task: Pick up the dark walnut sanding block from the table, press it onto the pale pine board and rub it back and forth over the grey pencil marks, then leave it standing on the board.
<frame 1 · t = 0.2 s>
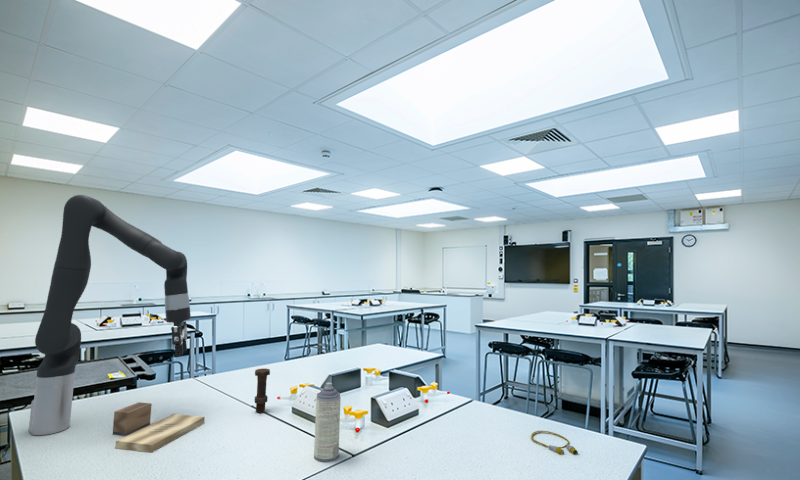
hand: (181, 353, 135), 22 cm above the table, tool pointing down, fingers open, 8 cm apart
pine board: (163, 434, 121), on the table
sanding block: (131, 429, 124), on the table
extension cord: (552, 445, 120), on the table
aerosol can: (326, 456, 109), on the table
bolt: (260, 412, 142), on the table
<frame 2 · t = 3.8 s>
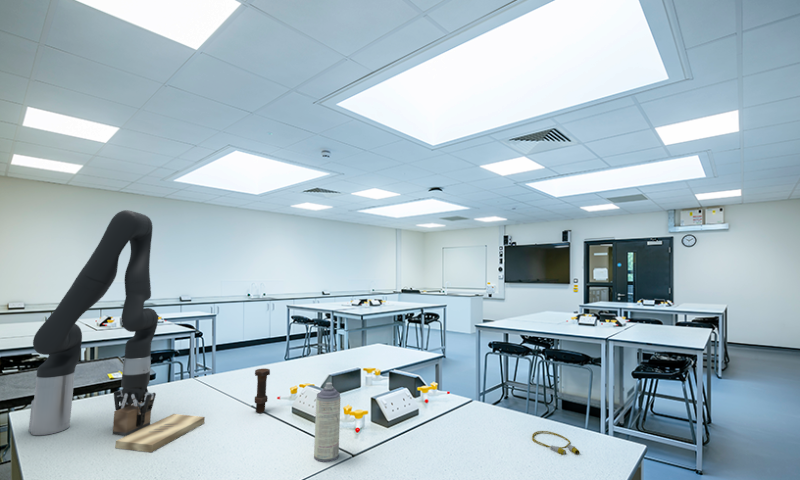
hand: (132, 424, 124), 1 cm above the table, tool pointing down, fingers closed on sanding block, 5 cm apart
sanding block: (131, 429, 124), on the table, touching gripper
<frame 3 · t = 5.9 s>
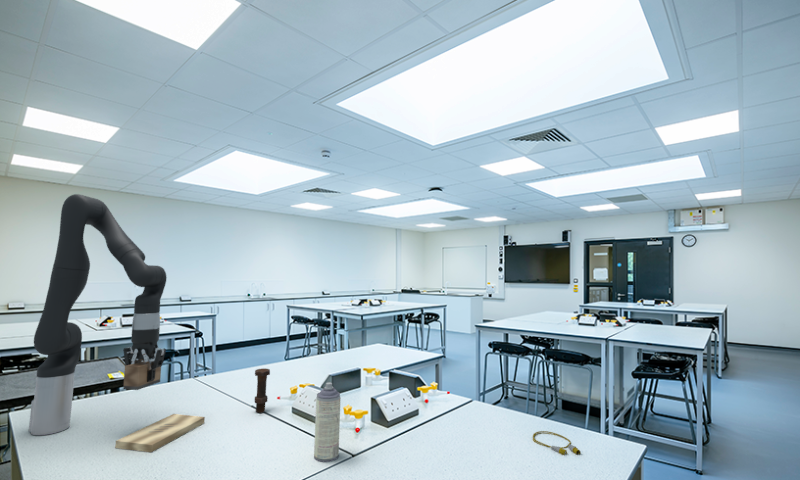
hand: (142, 380, 123), 16 cm above the table, tool pointing down, fingers closed on sanding block, 5 cm apart
sanding block: (142, 385, 123), point 14 cm above the table, touching gripper
everything else where it was.
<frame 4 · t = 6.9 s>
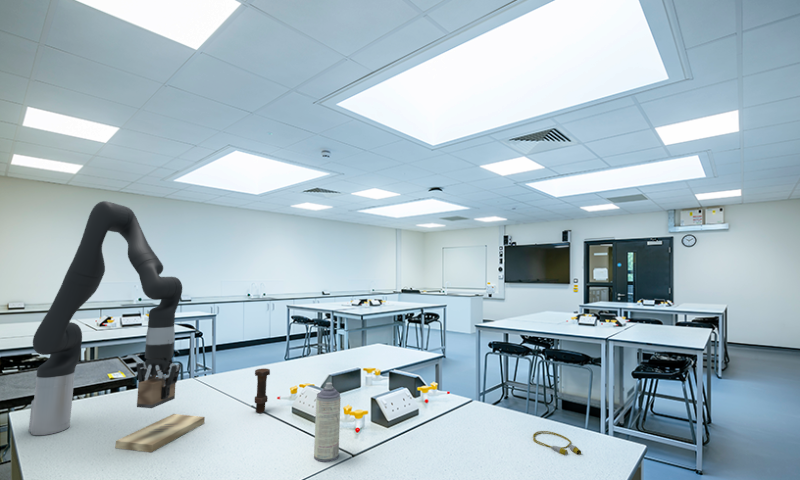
hand: (156, 397, 118), 12 cm above the table, tool pointing down, fingers closed on sanding block, 5 cm apart
sanding block: (156, 402, 118), point 11 cm above the table, touching gripper
everything else where it was.
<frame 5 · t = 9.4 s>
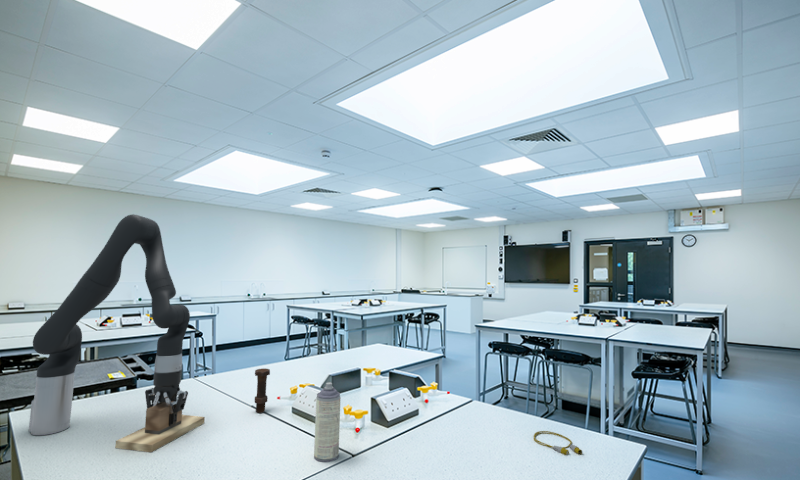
hand: (164, 424, 121), 3 cm above the table, tool pointing down, fingers closed on sanding block, 5 cm apart
sanding block: (163, 427, 121), point 2 cm above the table, touching gripper
everything else where it was.
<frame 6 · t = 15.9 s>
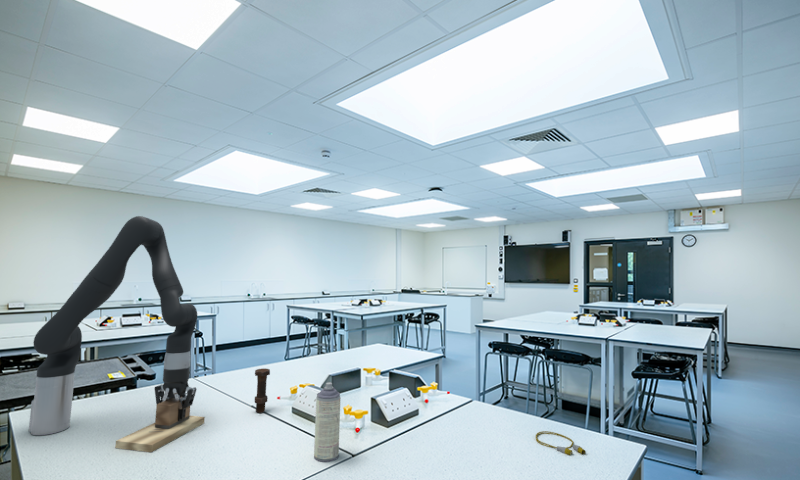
hand: (173, 419, 125), 3 cm above the table, tool pointing down, fingers closed on sanding block, 5 cm apart
sanding block: (172, 422, 125), point 2 cm above the table, touching gripper
when the fingers open (4 cm above the table, at t = 16.9 s): sanding block stays where it is, resting on pine board.
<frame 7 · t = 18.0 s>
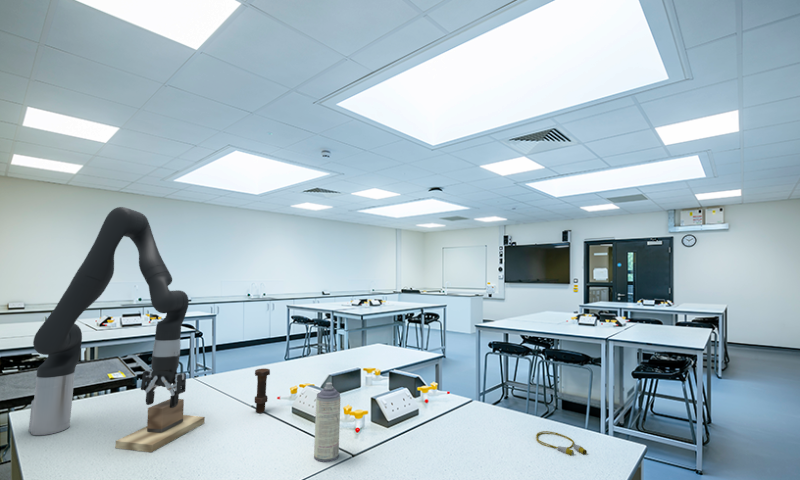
hand: (161, 405, 122), 8 cm above the table, tool pointing down, fingers open, 8 cm apart
sanding block: (165, 426, 122), point 2 cm above the table, touching gripper, pine board
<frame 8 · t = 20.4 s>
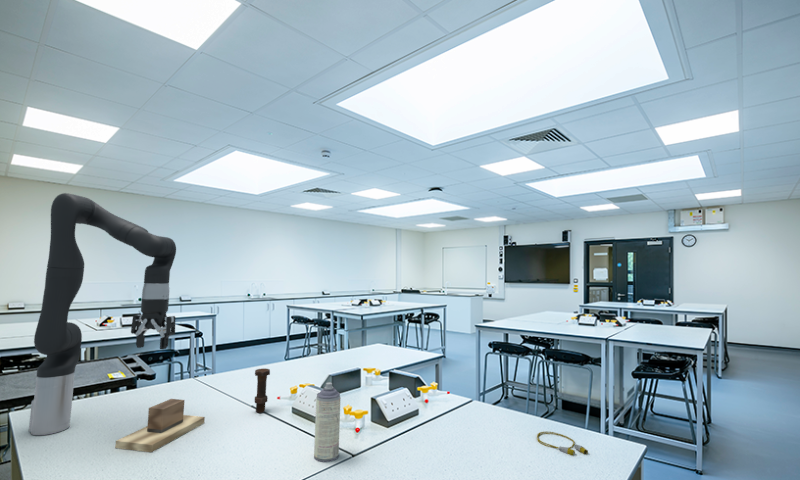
hand: (151, 348, 124), 26 cm above the table, tool pointing down, fingers open, 8 cm apart
sanding block: (165, 426, 122), point 2 cm above the table, touching pine board
at the end: sanding block inside the target area on the pine board (0.9 cm from its centre), point 2.0 cm above the pine board's base; sanding block tilted 0°; the gripper is holding nothing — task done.
